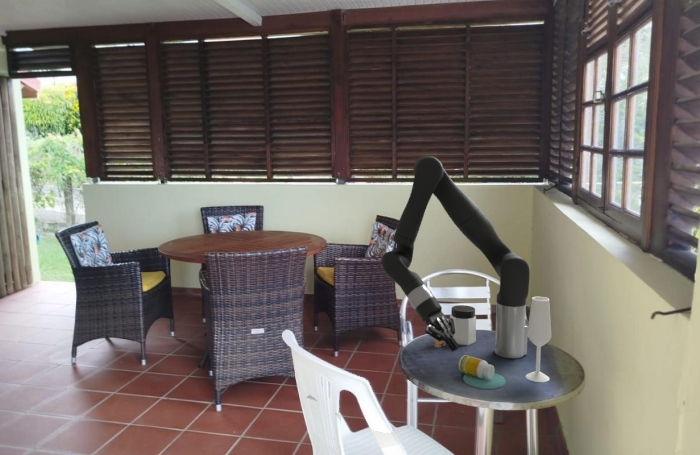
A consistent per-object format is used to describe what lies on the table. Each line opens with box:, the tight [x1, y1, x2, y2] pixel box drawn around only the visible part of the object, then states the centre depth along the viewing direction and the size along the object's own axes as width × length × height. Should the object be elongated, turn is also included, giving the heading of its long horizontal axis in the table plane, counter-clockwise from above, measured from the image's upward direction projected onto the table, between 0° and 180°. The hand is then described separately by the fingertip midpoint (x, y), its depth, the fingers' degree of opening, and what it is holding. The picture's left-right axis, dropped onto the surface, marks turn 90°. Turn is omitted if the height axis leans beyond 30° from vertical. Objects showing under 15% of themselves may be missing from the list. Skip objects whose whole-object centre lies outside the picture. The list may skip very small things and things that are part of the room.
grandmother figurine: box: [433, 310, 447, 348], centre depth 187 cm, size 8×4×13 cm, turn 133°
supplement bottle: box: [458, 354, 495, 379], centre depth 161 cm, size 5×5×10 cm
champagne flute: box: [525, 296, 552, 383], centre depth 160 cm, size 7×7×24 cm
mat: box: [462, 372, 507, 390], centre depth 160 cm, size 12×12×1 cm
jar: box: [449, 304, 477, 346], centre depth 192 cm, size 9×8×12 cm
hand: (456, 349), depth 166 cm, fingers closed
